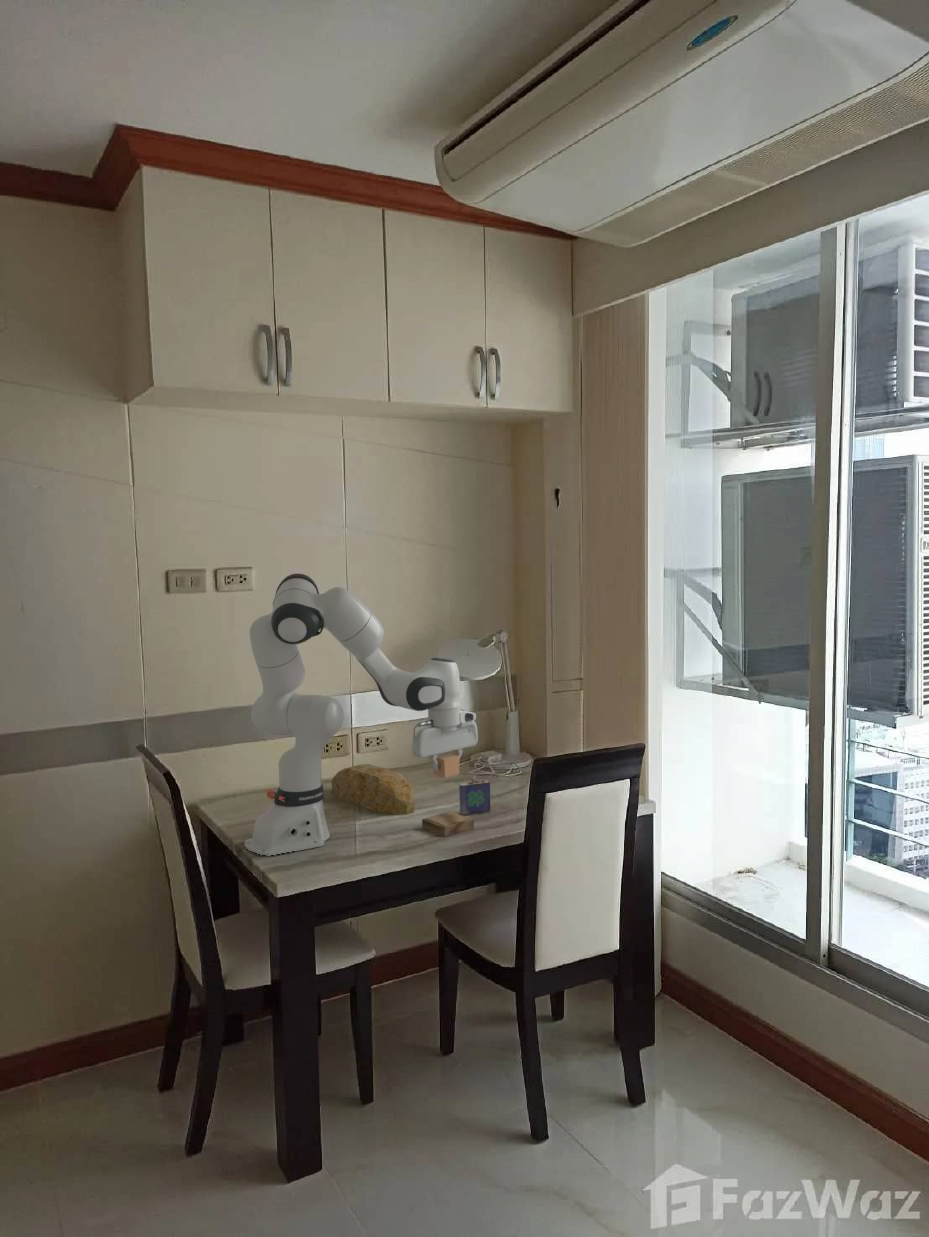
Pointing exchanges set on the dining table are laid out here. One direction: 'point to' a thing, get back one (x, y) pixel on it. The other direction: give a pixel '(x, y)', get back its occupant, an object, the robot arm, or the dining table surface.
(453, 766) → the terracotta block
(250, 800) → the dining table surface
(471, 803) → the flask
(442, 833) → the walnut plinth
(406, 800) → the bread
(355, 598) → the robot arm
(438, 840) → the dining table surface
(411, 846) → the dining table surface
